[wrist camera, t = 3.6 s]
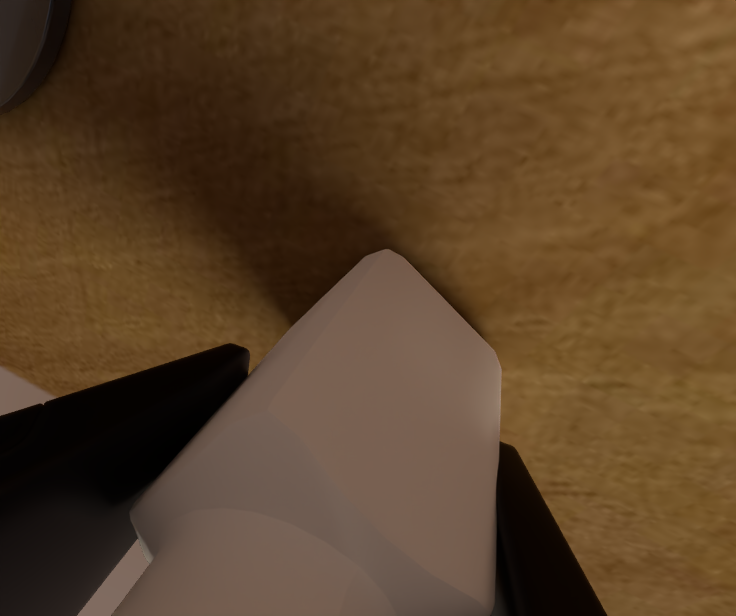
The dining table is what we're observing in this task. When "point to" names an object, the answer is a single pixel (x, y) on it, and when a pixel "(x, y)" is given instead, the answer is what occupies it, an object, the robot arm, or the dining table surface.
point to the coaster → (28, 45)
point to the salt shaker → (338, 470)
